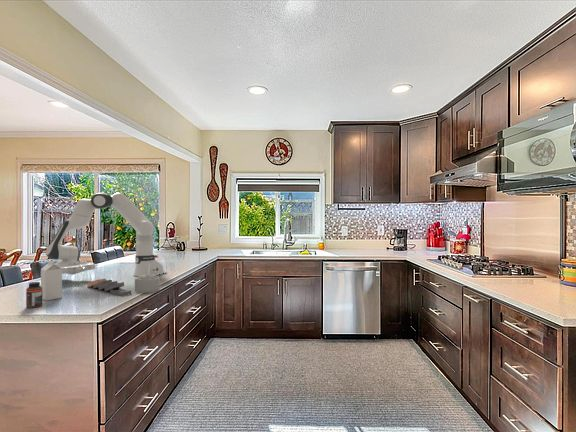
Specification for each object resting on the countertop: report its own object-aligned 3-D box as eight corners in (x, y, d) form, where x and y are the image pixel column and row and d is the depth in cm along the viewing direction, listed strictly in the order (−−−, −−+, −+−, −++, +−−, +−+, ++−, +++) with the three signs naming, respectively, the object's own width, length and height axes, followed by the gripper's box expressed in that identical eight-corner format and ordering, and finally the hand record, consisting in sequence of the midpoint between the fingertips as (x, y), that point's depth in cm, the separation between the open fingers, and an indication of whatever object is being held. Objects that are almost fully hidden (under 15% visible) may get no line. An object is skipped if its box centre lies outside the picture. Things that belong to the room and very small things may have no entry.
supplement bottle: (23, 307, 152) (24, 282, 152) (39, 304, 157) (39, 280, 157) (29, 309, 149) (29, 284, 149) (44, 306, 154) (44, 282, 154)
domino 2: (98, 286, 188) (108, 282, 181) (107, 285, 192) (117, 280, 185) (98, 290, 187) (108, 286, 181) (107, 288, 192) (117, 284, 185)
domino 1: (92, 285, 192) (102, 280, 185) (101, 283, 196) (111, 279, 189) (93, 288, 191) (103, 284, 185) (102, 287, 195) (112, 283, 189)
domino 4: (110, 289, 181) (122, 292, 174) (119, 287, 185) (131, 290, 178) (110, 293, 181) (122, 296, 174) (119, 291, 185) (131, 294, 178)
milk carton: (45, 301, 163) (45, 262, 163) (40, 298, 168) (40, 261, 168) (62, 298, 169) (62, 261, 169) (56, 296, 173) (57, 259, 173)
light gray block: (143, 287, 194) (143, 273, 194) (163, 288, 192) (163, 273, 192) (132, 291, 184) (132, 276, 184) (153, 292, 182) (153, 277, 182)
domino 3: (104, 287, 184) (114, 283, 177) (113, 286, 188) (123, 282, 182) (104, 291, 184) (115, 287, 177) (113, 289, 188) (124, 285, 181)
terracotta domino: (86, 283, 195) (97, 279, 189) (95, 282, 199) (105, 278, 193) (87, 287, 195) (97, 283, 189) (96, 285, 199) (106, 281, 193)
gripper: (53, 264, 203) (64, 266, 195) (88, 260, 220) (99, 262, 213) (53, 274, 203) (64, 277, 196) (88, 270, 220) (99, 272, 213)
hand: (82, 269), depth 204 cm, fingers closed
